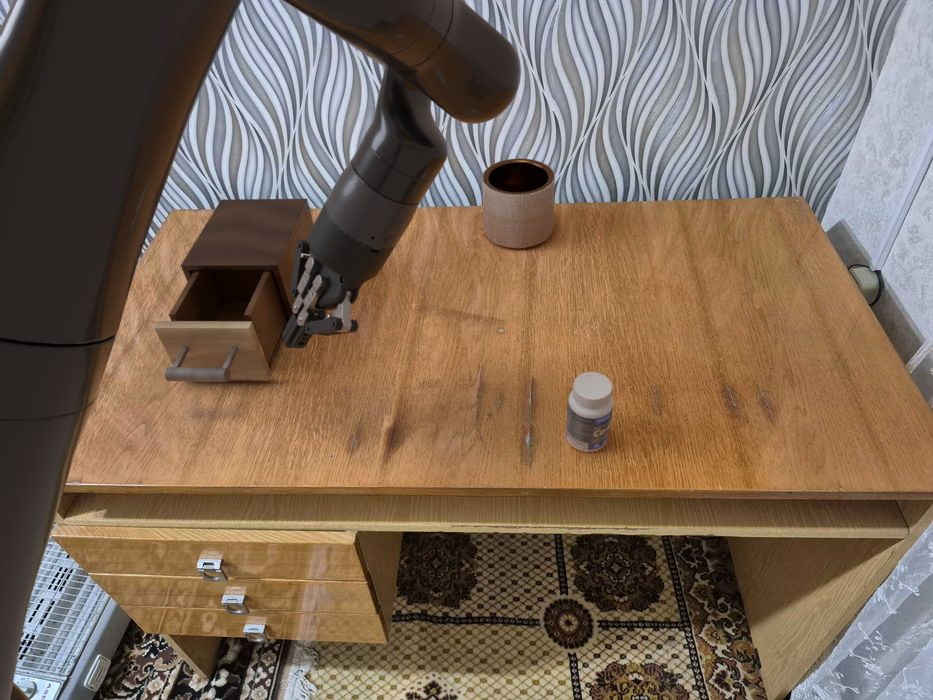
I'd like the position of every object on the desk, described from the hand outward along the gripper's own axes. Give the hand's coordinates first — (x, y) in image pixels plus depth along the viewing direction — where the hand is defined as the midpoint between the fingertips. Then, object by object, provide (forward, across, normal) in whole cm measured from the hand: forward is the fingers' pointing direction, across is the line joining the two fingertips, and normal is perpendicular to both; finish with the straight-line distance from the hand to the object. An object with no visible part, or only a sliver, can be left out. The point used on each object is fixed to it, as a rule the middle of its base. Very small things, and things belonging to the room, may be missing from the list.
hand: (291, 343), depth 70 cm
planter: (-8, -19, +41) cm, 46 cm away
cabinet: (+14, -23, +9) cm, 28 cm away
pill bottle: (-8, +19, +27) cm, 34 cm away
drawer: (+15, -12, +2) cm, 19 cm away
